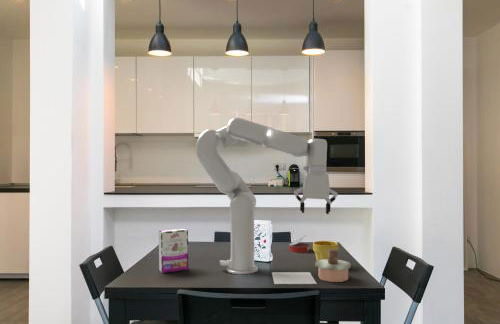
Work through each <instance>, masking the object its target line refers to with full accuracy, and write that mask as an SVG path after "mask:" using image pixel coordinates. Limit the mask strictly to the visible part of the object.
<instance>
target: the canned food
mask: <svg viewBox="0 0 500 324" xmlns="http://www.w3.org/2000/svg"><path fill="white" fill-rule="evenodd" d="M305 237H307V234H306V235H304V236H302V237H300V238H298V239H296V240H294V241H292V242H291V243H289V246H288V251H289V252H291V253H299V254H303V253H308V252H309V251H310V244H309V243H303V242H302V241H303V240H304V238H305Z"/></svg>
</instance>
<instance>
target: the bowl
mask: <svg viewBox="0 0 500 324" xmlns="http://www.w3.org/2000/svg"><path fill="white" fill-rule="evenodd" d="M317 268H318V270H317V271H318V272H317V274H318V276H317V277H318V278H319V280H322V281H325V282H330V283H335V282H336V283H342V282H345V281H348V280H349V269H345V270H327V269H322V268H319V267H317Z"/></svg>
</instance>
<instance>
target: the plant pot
mask: <svg viewBox="0 0 500 324" xmlns="http://www.w3.org/2000/svg"><path fill="white" fill-rule="evenodd" d="M312 249H313V252H314V255H315V260H316V261H318V260H324V259H328V249H336V250H337V251H338V252H339V243H338V242H336V241H332V240H317V241H313V243H312Z"/></svg>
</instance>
